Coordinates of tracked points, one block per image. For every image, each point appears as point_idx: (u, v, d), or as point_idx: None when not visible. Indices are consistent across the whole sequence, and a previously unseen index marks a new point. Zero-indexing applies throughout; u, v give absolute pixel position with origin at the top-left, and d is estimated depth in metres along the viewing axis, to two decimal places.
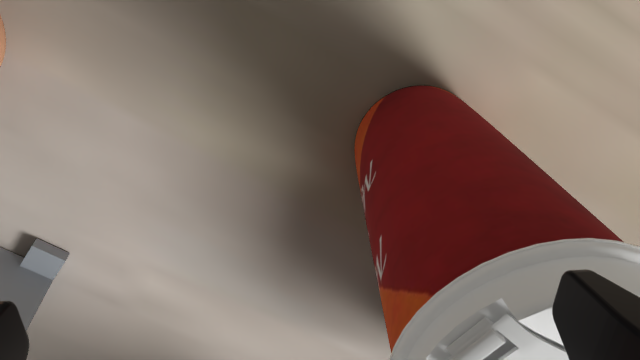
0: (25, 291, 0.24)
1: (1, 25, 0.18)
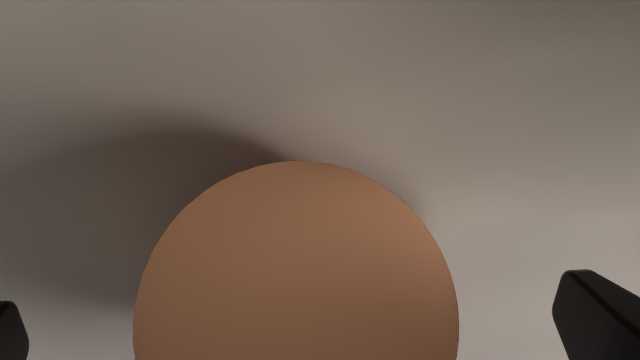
0: None
1: None
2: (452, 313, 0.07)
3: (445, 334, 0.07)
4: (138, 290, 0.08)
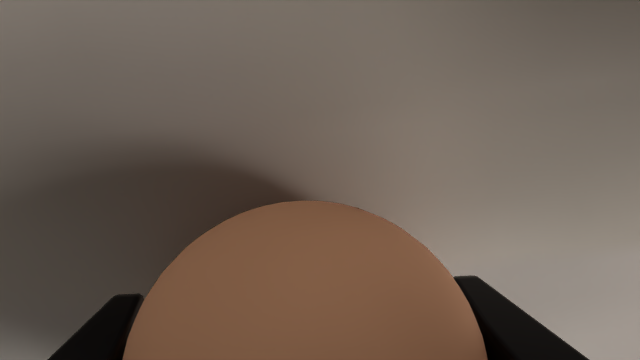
0: None
1: (441, 263, 0.07)
2: None
3: None
4: (124, 355, 0.07)
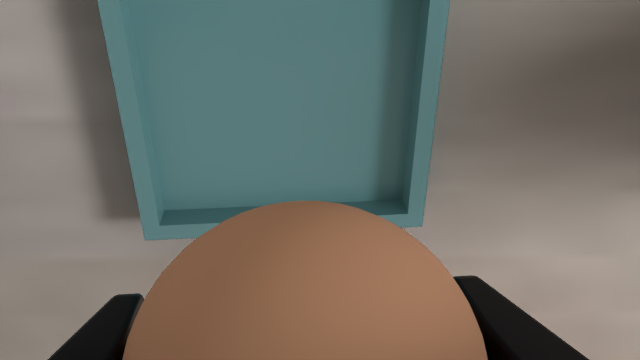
0: None
1: (441, 263, 0.07)
2: None
3: None
4: (123, 355, 0.07)
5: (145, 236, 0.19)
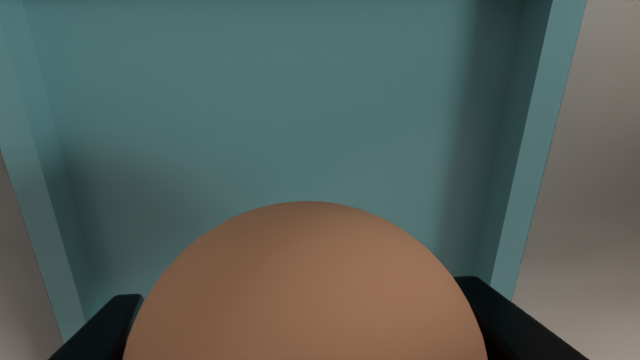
0: None
1: (441, 263, 0.07)
2: None
3: None
4: (123, 355, 0.07)
5: None
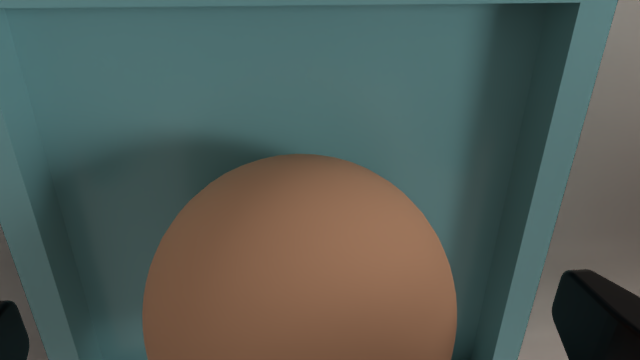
0: None
1: (416, 206, 0.09)
2: (450, 298, 0.08)
3: (444, 318, 0.07)
4: (147, 278, 0.08)
5: None
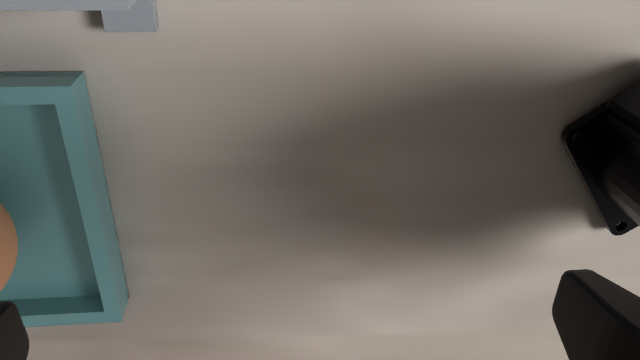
0: None
1: None
2: None
3: None
4: None
5: None
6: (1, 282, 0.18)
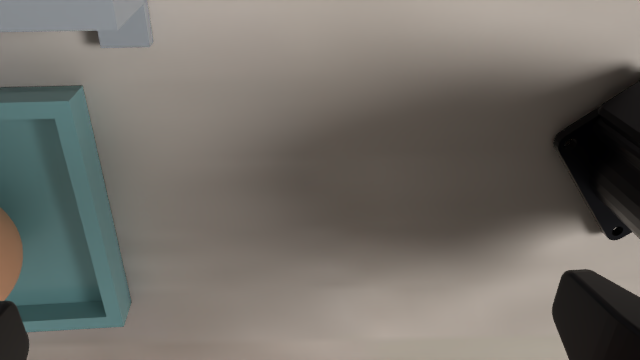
0: None
1: None
2: None
3: None
4: None
5: None
6: (7, 289, 0.18)
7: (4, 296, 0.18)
